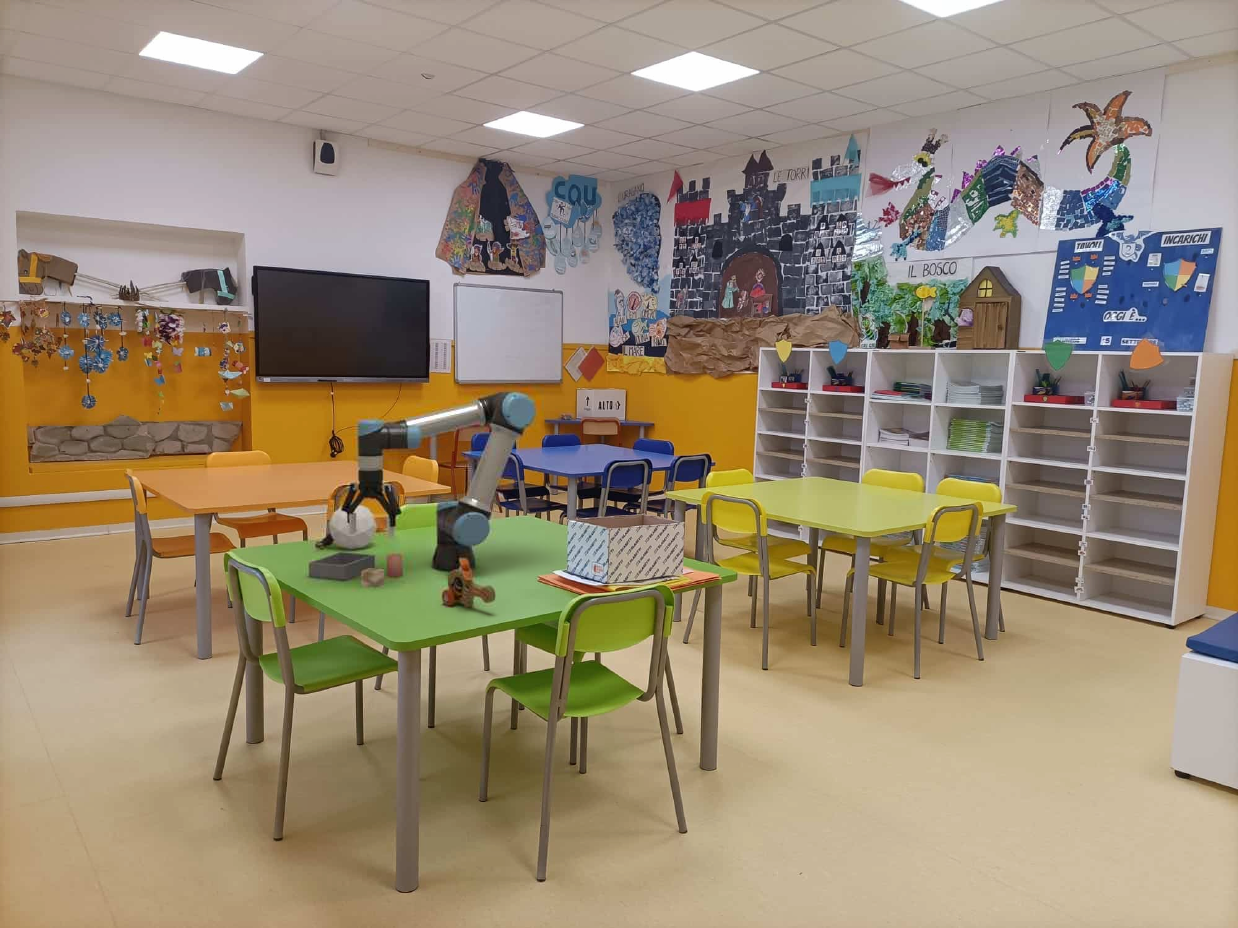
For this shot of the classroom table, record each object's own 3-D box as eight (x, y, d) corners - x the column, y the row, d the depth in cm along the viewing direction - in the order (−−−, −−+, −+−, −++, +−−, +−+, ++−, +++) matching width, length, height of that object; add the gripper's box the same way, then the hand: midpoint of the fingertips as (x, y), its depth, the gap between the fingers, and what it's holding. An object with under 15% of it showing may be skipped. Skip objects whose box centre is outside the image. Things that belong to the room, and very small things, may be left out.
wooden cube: (384, 584, 279) (383, 569, 279) (375, 588, 275) (375, 572, 274) (370, 583, 281) (370, 567, 280) (361, 586, 276) (361, 571, 275)
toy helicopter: (461, 598, 264) (461, 554, 263) (504, 612, 250) (505, 566, 248) (439, 603, 258) (438, 558, 257) (482, 618, 244) (482, 570, 242)
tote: (340, 565, 303) (340, 551, 302) (375, 569, 299) (374, 554, 298) (309, 577, 286) (308, 562, 285) (344, 581, 282) (344, 566, 281)
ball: (376, 536, 321) (346, 480, 322) (318, 569, 321) (288, 512, 323) (391, 534, 338) (362, 481, 340) (335, 565, 339) (307, 512, 340)
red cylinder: (405, 574, 292) (405, 554, 291) (397, 578, 287) (397, 557, 286) (392, 573, 293) (391, 553, 292) (384, 577, 288) (383, 556, 288)
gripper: (412, 469, 273) (412, 536, 276) (343, 465, 280) (344, 530, 283) (399, 472, 266) (400, 540, 269) (329, 468, 273) (330, 534, 276)
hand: (371, 535), depth 276 cm, fingers open, 13 cm apart
